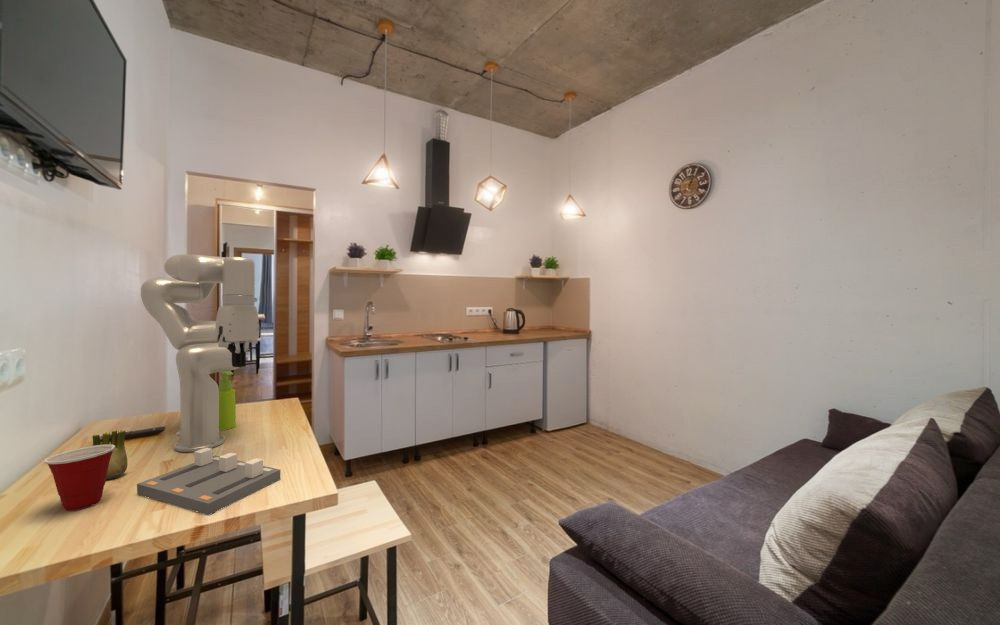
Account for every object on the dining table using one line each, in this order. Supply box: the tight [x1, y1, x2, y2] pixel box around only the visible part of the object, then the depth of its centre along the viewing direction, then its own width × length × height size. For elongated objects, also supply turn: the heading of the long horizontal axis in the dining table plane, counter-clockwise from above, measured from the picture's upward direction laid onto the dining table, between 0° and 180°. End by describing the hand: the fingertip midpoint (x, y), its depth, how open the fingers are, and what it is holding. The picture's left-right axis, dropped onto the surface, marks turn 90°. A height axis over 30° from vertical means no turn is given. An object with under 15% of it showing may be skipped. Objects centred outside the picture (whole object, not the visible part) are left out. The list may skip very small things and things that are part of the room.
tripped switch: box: [219, 452, 238, 472], centre depth 100 cm, size 2×3×4 cm
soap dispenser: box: [219, 370, 237, 431], centre depth 138 cm, size 6×7×20 cm
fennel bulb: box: [92, 429, 128, 481], centre depth 100 cm, size 6×5×12 cm
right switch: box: [244, 457, 264, 478], centre depth 97 cm, size 2×3×4 cm
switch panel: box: [136, 454, 281, 516], centre depth 97 cm, size 24×18×3 cm
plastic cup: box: [43, 444, 115, 512], centre depth 87 cm, size 11×11×12 cm
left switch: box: [193, 448, 214, 466], centre depth 103 cm, size 2×3×4 cm
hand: (238, 366), depth 110 cm, fingers closed
